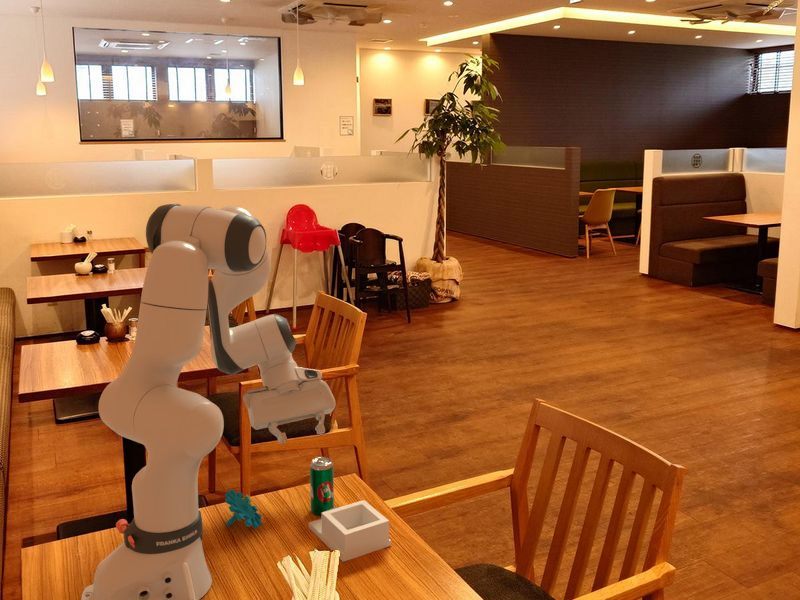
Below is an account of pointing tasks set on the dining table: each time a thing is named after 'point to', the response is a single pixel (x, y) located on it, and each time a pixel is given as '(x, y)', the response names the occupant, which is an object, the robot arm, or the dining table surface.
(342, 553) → the box
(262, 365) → the robot arm
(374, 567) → the dining table surface
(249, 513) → the teal lobed piece
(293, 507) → the dining table surface
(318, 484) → the soda can
